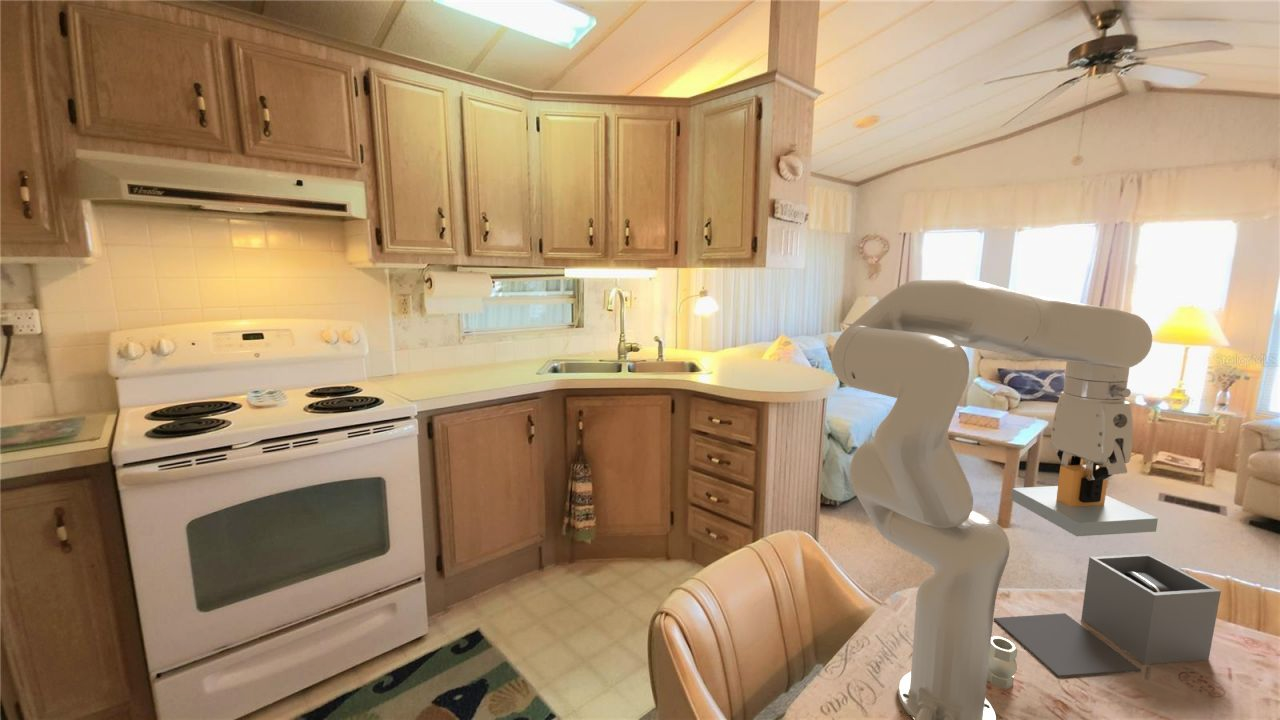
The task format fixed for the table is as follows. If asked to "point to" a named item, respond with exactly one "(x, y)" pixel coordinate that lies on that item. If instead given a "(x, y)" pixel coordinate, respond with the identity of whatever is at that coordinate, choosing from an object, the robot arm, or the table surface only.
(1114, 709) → the table surface
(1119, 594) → the tub
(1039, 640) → the mat
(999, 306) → the robot arm
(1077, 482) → the lid
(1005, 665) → the valve
